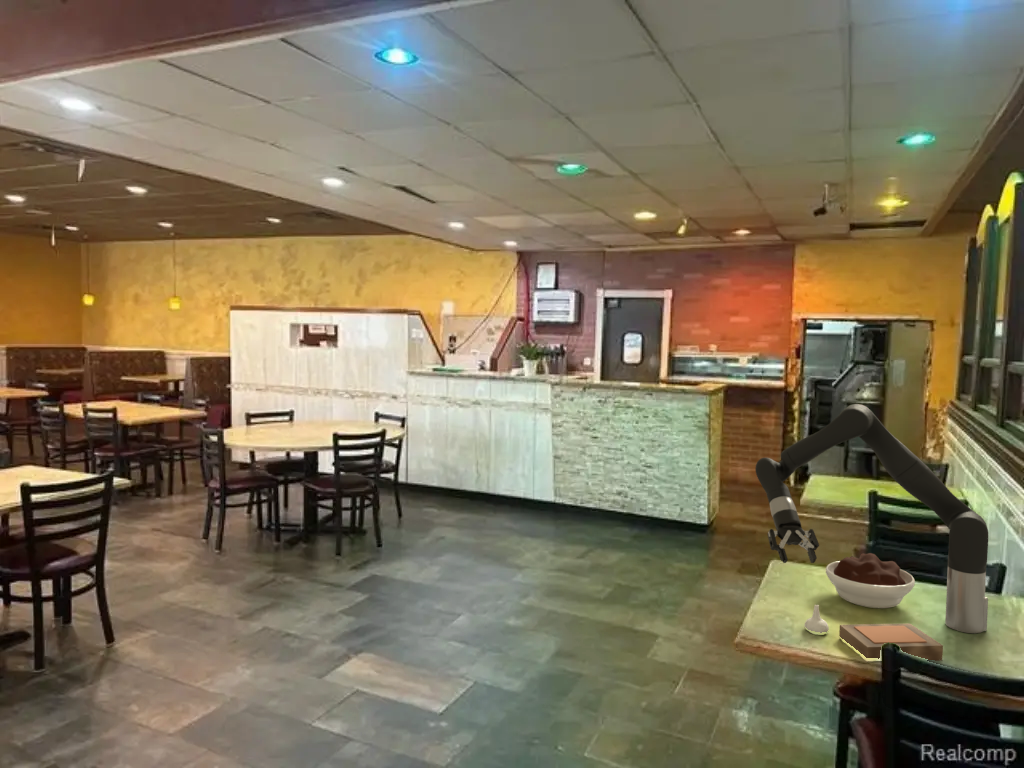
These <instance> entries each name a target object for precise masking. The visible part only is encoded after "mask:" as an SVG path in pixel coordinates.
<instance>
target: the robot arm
mask: <svg viewBox="0 0 1024 768" xmlns="http://www.w3.org/2000/svg"><path fill="white" fill-rule="evenodd" d="M855 438H860V440H862V441H863V442H864V443H865V444H866V445H867V446H868V447H869V448H870V449H871V450H872V451H873V452H874V453H875V455H876V457H877V458H878V460H879V461H880V463H881V465H882V466H883V468H884V469H885V470H886V472H887V473H888V475H890V477H891V478H892V479H893V480H894V481H895V482H896V483H898V485H899V486H900V487H901V488H902V489H904V490H905V492H907V493H908V494H910V495H911V496H912V497H914V498H915V499H917V500H918V501H920V502H921V503H922V504H924V505H925V506H927V507H928V508H929V509H931V510H932V511H933V512H934V513H935V514H936V515H937V516H938V518H939V519H940V520H941V521H942V522H943V523H944V525H945V526H947V528H948V530H949V536H948V537H949V538H948V555H947V575H946V579H947V580H946V596H945V597H946V598H945V599H946V600H945V625H946V626H947V627H949V629H953V630H954V631H955V630H956V631H958V632H962V633H967V634H981V633H983V632H986V631H987V630H988V612H989V611H988V610H989V609H988V608H989V598H988V597H987V596H986V579H987V577H986V575H987V564H988V554H989V553H988V551H989V530H988V525H987V523H986V520H985V519H984V518H983V517H982V516H981V515H979V514H978V513H977V512H976V511H975V510H973V509H972V508H970V507H969V506H968V505H966V504H965V503H964V502H963V501H962V500H960V499H959V498H958V497H957V496H955V494H953V493H952V492H951V490H950V489H948V487H947V486H946V485H945V483H943V481H942V480H941V479H940V478H939V477H938V476H937V475H936V474H935V472H933V471H932V469H931V468H930V467H929V466H928V465H927V464H926V463H925V462H923V461H922V460H921V459H920V458H919V457H918V456H917V455H916V454H914V452H912V451H911V450H910V449H909V448H908V447H907V446H906V445H904V443H902V442H901V441H900V440H899V439H898V438H897V437H895V436H894V435H893V434H892V433H891V432H890V431H889V430H888V429H887V428H886V427H885V426H884V424H883V422H882V421H880V420H879V418H878V417H877V416H876V415H875V414H874V412H873V411H872V410H871V409H869V407H867V406H866V405H863V404H861V403H860V404H858V403H853V404H850V405H848V406H846V407H845V408H843V410H842V411H840V413H839V414H838V415H837V416H836V417H835V418H834V419H833V420H832V421H831V422H829V423H828V424H827V425H826V426H824V427H823V428H822V429H819V430H818V431H816V432H815V433H812V434H811V435H808V436H806V437H804V438H801V439H800V440H798V441H797V442H795V443H793V444H792V445H790V446H788V447H786V448H785V449H784V450H782V452H781V453H780V458H781V460H780V461H779V462H778V461H776V460H774V459H773V458H770V457H761V458H760V459H758V461H757V462H756V464H755V474H756V477H757V479H758V482H759V483H760V485H761V487H762V489H763V490H764V492H765V494H766V497H767V500H768V504H769V508H770V514H771V516H772V520H773V523H774V526H775V530H774V529H773V528H769V530H768V532H767V538H768V543H769V548H770V550H771V551H776V552H778V555H779V560H780V562H782V563H783V564H786V563H787V562H788V561H789V559H788V556H787V553H786V550H785V546H786V545H787V546H792V545H794V546H798V545H799V546H800V547H801V548H804V549H805V550H806V553H807V555H808V558H809V561H810V562H809V563H811V564H814V563H815V562H816V560H817V554H816V550H817V549H818V548H819V547H820V543H819V541H818V538H817V536H816V533H815V531H814V529H813V528H810V529H809V530H804V529H803V528H802V523H801V520H800V517H799V514H798V510H797V508H796V504H795V502H794V501H793V499H792V495H791V493H790V489H789V487H788V485H786V483H784V482H785V481H787V479H789V478H790V476H792V475H793V474H794V473H795V472H796V470H797V469H798V468H801V467H802V466H805V464H807V463H809V462H810V461H813V460H814V459H815V458H817V457H818V456H820V455H822V454H824V453H825V452H827V451H828V450H830V449H832V448H833V447H835V446H837V445H840V444H842V443H844V442H847V441H849V440H853V439H855ZM776 537H778V538H779V539H780V540H781V541H780V543H779V544H777V539H776Z"/></svg>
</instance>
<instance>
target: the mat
mask: <svg viewBox="0 0 1024 768" xmlns="http://www.w3.org/2000/svg"><path fill="white" fill-rule="evenodd" d="M854 628H855V629H857V630H858V631H859V632H860V633H862V634H863V635H864V636H866V637H867V638H868V639H869V640H871V641H872V642H873V643H888V642H889V643H925V642H927V641H926V640H924V639H923V638H921V637H920V636H918V635H917V634H915V633H914V632H912V631H911V630H910V629H908V628H907V627H905V626H854Z"/></svg>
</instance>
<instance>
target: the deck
mask: <svg viewBox="0 0 1024 768" xmlns="http://www.w3.org/2000/svg"><path fill="white" fill-rule="evenodd" d="M854 626H905V627H907V628H908V629H910V630H911V631H912V632H914V633H915V634H917V635H918V636H920V637H921V638H923V639H924V640H926V641H927V642H925V643H895V644H897V645H898V646H900V648H901V650H902V651H903V652H906V653H908V654H911V655H914V656H918V657H921V658H925V659H928V660H935V661H934V662H939V661H940V662H943V660H944V659H943V658H944V645H943V644H942V643H940V642H938V641H937V640H936V639H934V638H933V637H931V636H930V635H928V634H927V633H925V632H923V631H922V630H921V629H919V628H918V627H916V626H915V625H913V624H911V623H865V624H863V623H861V624H860V623H858V624H857V623H856V624H839V631H838V632H839V636H840V637H841V638H842V639H844V640H845V641H846V642H847V643H849V644H850V645H851V646H853V647H854V648H855V649H856V650H858V651H859V652H860V653H861V654H863V655H864V656H865V657H866V658H878V659H879V658H880V650H881V646H882V645H883V644H884V643H873V642H872V641H871V640H869V639H868V638H867V637H866V636H864V635H863V634H862V633H860V632H859V631H858V630H857V629H855V628H854ZM839 636H838V637H839Z"/></svg>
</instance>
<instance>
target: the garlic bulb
mask: <svg viewBox="0 0 1024 768" xmlns="http://www.w3.org/2000/svg"><path fill="white" fill-rule="evenodd" d="M805 627H806V628H807V629H808V630H811V631H815V632H820V633H822V632H827V631H828V630H829V625H828V622H827V621H826V620H824V619H823V618H822V617H821V614H820V605H819V604H814V607H813V612H812V616H811V617H809V618H807V619H806V620H805V622H804V628H805ZM828 632H829V631H828Z"/></svg>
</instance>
